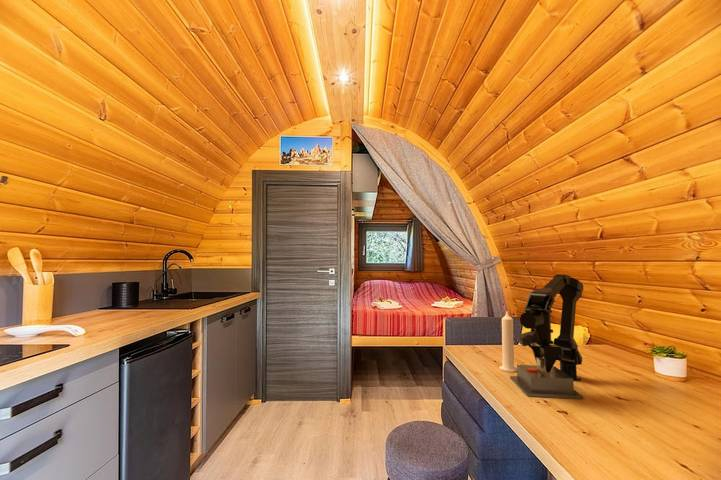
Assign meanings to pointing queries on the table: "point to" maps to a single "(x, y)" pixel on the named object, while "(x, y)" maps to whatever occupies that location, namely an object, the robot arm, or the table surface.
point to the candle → (507, 344)
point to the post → (541, 365)
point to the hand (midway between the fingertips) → (543, 368)
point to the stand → (545, 383)
